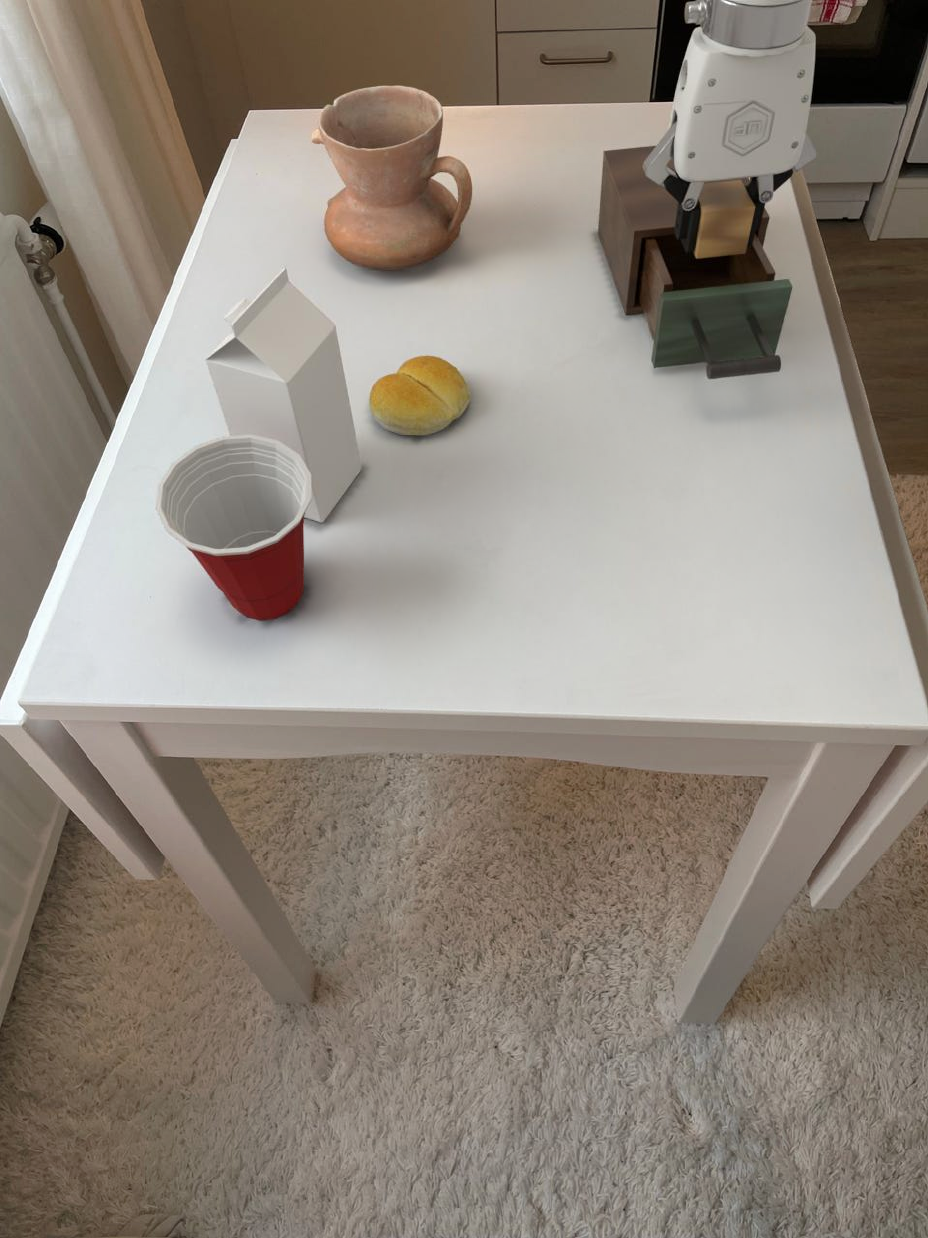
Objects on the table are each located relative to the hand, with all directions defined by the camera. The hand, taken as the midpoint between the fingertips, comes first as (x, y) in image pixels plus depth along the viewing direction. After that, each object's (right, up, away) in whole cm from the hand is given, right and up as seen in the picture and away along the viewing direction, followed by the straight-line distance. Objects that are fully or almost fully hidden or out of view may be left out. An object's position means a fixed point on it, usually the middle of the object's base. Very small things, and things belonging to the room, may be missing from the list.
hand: (715, 238), depth 84 cm
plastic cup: (-38, -32, -9) cm, 50 cm away
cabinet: (-1, +3, +15) cm, 15 cm away
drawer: (+1, -7, +6) cm, 9 cm away
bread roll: (-26, -14, +4) cm, 30 cm away
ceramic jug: (-29, +7, +19) cm, 36 cm away
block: (0, 0, 0) cm, 0 cm away
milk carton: (-36, -22, -2) cm, 42 cm away
